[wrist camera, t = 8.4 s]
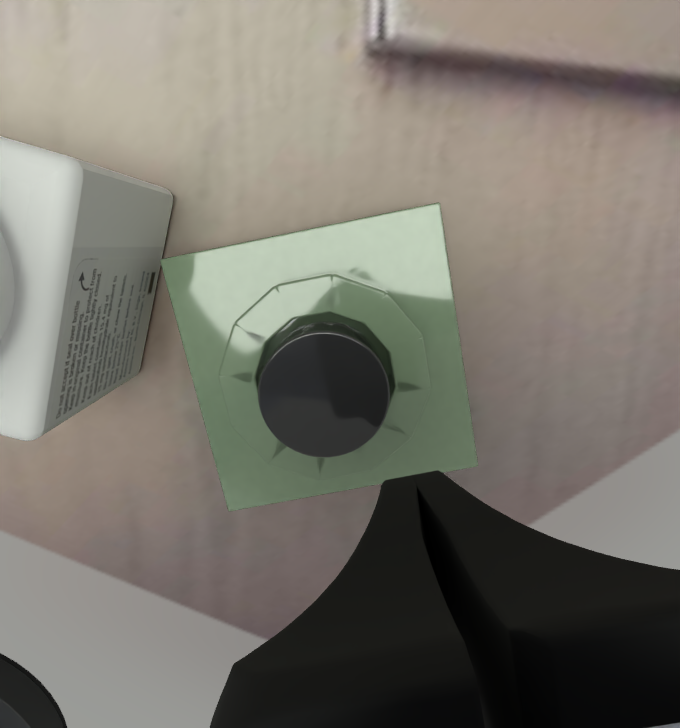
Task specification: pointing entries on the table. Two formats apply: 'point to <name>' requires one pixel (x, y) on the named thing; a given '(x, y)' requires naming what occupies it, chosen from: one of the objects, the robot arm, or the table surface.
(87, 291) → the container
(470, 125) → the table surface
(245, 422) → the push button base
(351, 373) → the dark grey push button
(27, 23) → the table surface
